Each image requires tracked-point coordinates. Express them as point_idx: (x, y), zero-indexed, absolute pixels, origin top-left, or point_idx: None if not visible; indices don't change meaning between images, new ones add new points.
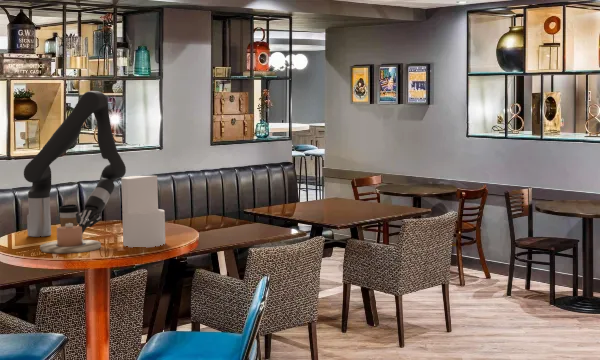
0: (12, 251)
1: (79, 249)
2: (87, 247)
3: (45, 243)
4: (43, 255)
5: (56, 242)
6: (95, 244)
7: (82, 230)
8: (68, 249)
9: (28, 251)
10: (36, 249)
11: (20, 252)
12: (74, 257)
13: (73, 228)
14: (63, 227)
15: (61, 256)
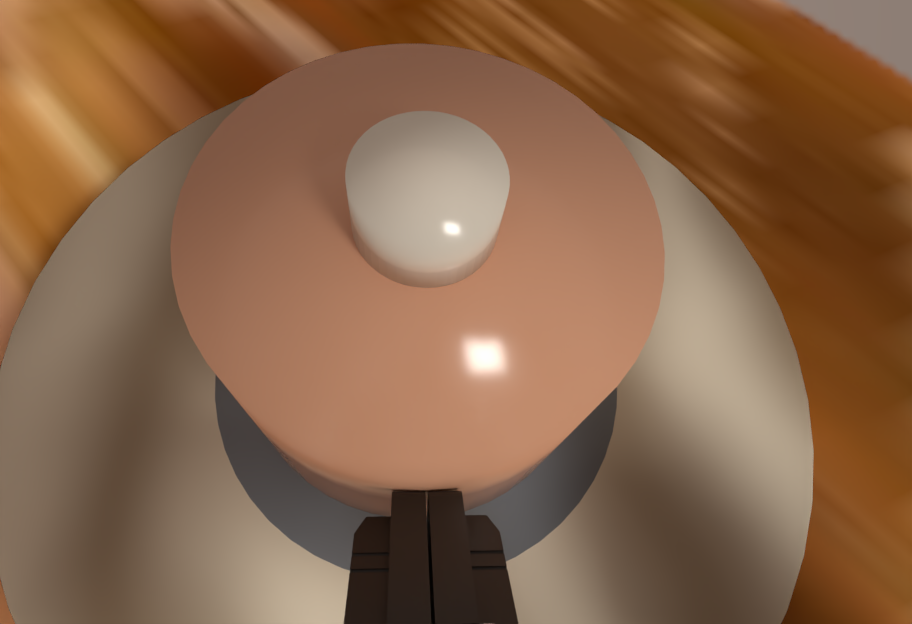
0: (791, 52)
1: (115, 188)
2: (51, 273)
3: (766, 299)
4: (383, 3)
5: (715, 409)
6: (58, 504)
7: (354, 554)
8: (213, 113)
9: (670, 91)
10: (701, 186)
11: (687, 40)
12: (28, 13)
13: (274, 174)
14: (550, 204)
15: (186, 14)
